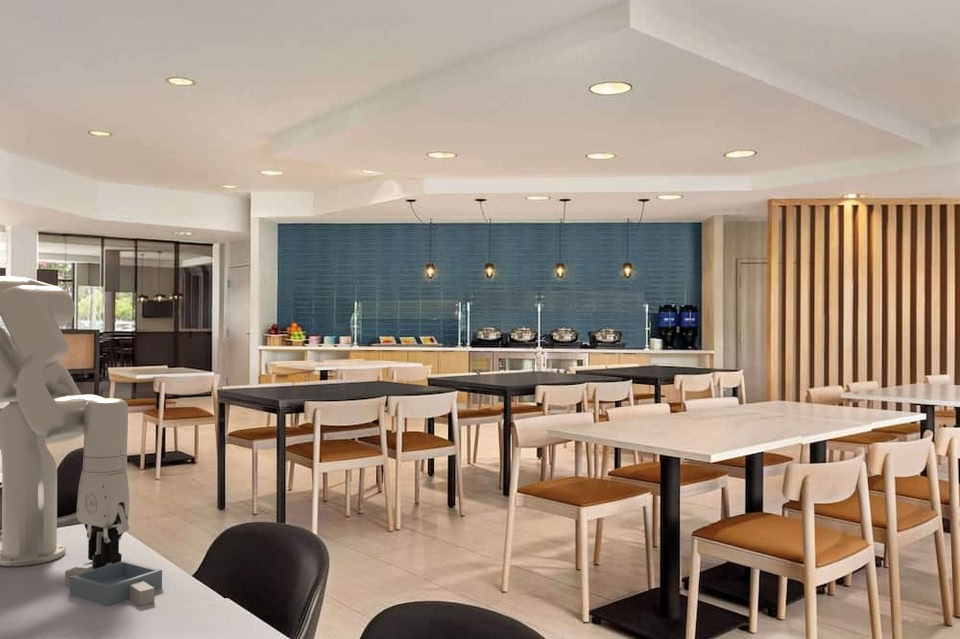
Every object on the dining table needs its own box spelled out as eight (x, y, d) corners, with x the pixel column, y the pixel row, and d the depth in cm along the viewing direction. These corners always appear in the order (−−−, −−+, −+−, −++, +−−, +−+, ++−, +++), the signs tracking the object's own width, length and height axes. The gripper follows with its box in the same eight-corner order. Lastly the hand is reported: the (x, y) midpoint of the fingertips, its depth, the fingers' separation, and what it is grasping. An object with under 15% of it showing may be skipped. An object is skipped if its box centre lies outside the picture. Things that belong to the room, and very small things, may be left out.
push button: (87, 575, 145) (88, 522, 145) (79, 568, 149) (81, 516, 149) (125, 568, 150) (126, 516, 150) (116, 561, 154) (118, 510, 154)
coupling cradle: (49, 588, 139) (49, 570, 139) (104, 571, 148) (104, 555, 148) (127, 611, 128) (127, 592, 128) (181, 592, 137) (181, 574, 137)
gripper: (60, 461, 150) (58, 557, 150) (114, 472, 142) (112, 573, 142) (97, 456, 156) (95, 547, 157) (150, 466, 148) (148, 562, 148)
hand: (103, 559), depth 149 cm, fingers closed on push button, 3 cm apart
